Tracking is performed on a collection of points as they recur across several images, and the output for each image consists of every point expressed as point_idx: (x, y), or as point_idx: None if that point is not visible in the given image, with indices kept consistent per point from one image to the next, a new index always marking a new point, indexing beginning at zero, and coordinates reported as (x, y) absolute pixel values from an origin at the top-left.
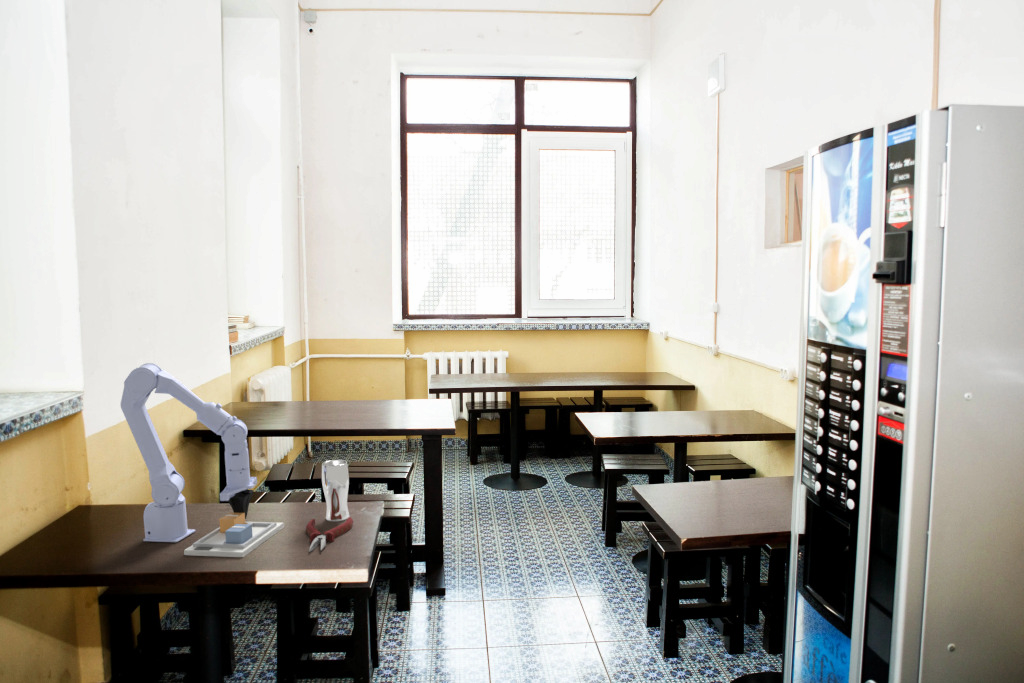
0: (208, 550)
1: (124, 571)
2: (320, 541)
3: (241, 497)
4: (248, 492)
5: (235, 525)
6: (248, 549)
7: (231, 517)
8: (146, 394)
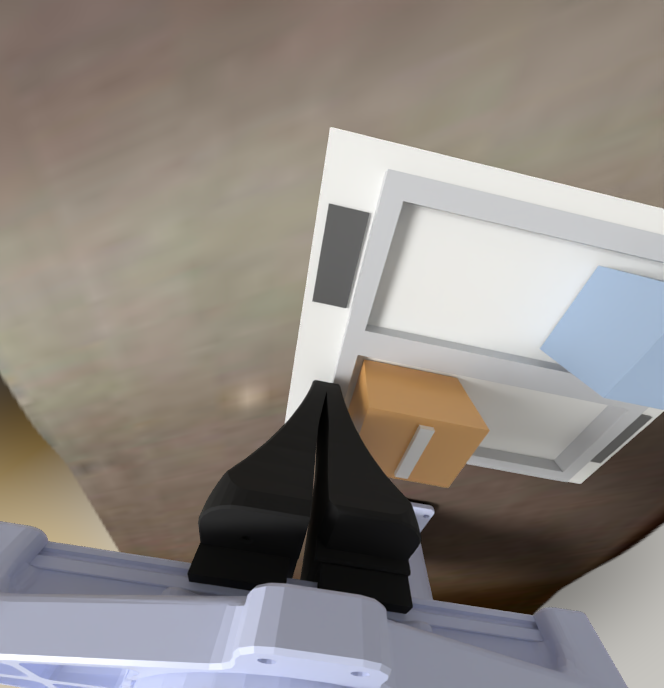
0: (649, 417)
1: (613, 543)
2: None
3: (419, 536)
4: (299, 529)
5: (640, 395)
6: None
7: (443, 448)
8: None
